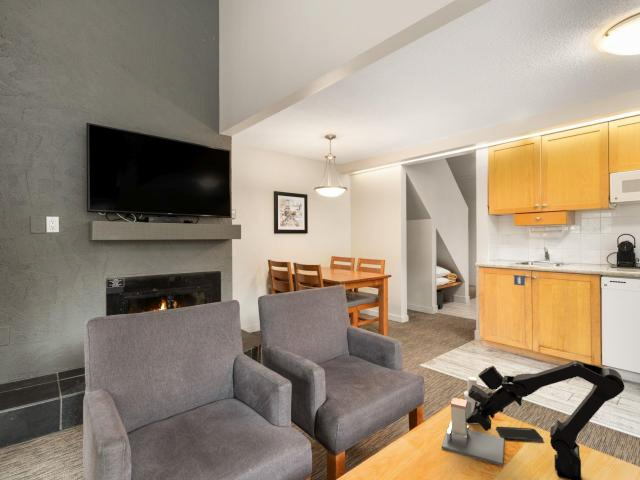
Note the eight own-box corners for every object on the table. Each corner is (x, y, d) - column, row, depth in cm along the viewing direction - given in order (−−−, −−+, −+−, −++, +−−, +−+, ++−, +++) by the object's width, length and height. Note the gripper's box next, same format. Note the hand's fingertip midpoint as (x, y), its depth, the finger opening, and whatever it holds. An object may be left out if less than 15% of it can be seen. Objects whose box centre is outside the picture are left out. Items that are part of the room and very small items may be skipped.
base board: (503, 440, 131) (503, 438, 131) (502, 466, 117) (502, 463, 117) (448, 426, 141) (448, 424, 141) (441, 448, 127) (441, 446, 127)
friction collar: (468, 434, 133) (468, 425, 133) (466, 446, 126) (466, 437, 126) (451, 430, 137) (450, 421, 137) (447, 441, 129) (447, 432, 129)
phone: (495, 426, 139) (534, 428, 137) (495, 429, 139) (534, 431, 137) (502, 438, 131) (544, 440, 129) (502, 441, 131) (544, 443, 129)
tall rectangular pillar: (467, 436, 132) (467, 400, 132) (465, 443, 128) (465, 406, 127) (453, 432, 135) (452, 397, 134) (451, 439, 130) (450, 403, 130)
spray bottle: (468, 414, 150) (468, 373, 150) (484, 420, 145) (484, 378, 144) (461, 419, 146) (460, 378, 145) (476, 426, 140) (476, 383, 140)
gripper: (484, 371, 135) (454, 393, 140) (479, 391, 118) (446, 414, 124) (506, 396, 131) (475, 417, 137) (505, 419, 115) (470, 442, 120)
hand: (466, 421), depth 130 cm, fingers closed, pressing on tall rectangular pillar
